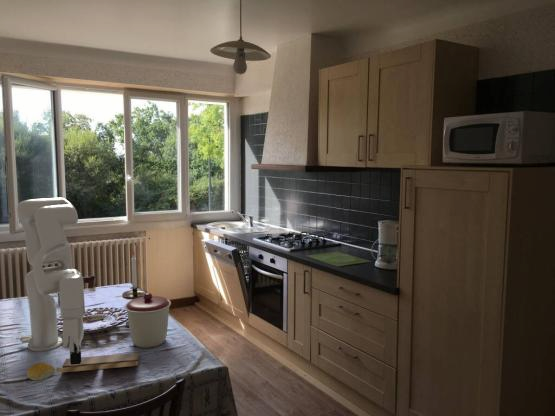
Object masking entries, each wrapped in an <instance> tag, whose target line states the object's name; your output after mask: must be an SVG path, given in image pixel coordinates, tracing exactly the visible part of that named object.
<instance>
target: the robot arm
mask: <svg viewBox="0 0 555 416" xmlns="http://www.w3.org/2000/svg"><path fill="white" fill-rule="evenodd" d="M16 207H17V208H16V212H17V217H18V219H19V223H20V225H21V226H22V228H23V231H24V236H25V237H24V238H25V248H26V257H27V262H28V263H29V265H31V266H32V270H30V271H29V272H27V273H26V275H25V276H24V285H25V287H26V292H27V297H28V308H29V320H30V321H29V322H30V334H29V335H28V336H26V335H24V336H23V335H22V336H20V342H21V344H27V349H28V350H29V351H32V352H45V351H46V352H47V351H51V350H54V349H57V348H58V347H60V346H61V345H62V348H63V349H67V347H68V346H69V347H68V348H69V358H70V364H71V365H74V364H80V363H81V357H82V349H81V348H82V347H81V346H82V345H81V343H82V341H83V338H84V333H85V332H84V320H83V319H84V318H83V317H84V316H85V315H86V304H85V292H84V291H85V288H84V277H83V276H82V273H81V272H80V271H79V270H78V269H76V268H74V267H73V256H72V247H71V245H70V242H69V241H68V238H67V236H66V232H65V229H64V228H70V227H75V226H76V225H78V221H79V216H78V212H77V210H76V207H75V206H74V205H73V204H72V203H71V202H70V201H69V200H67V199H66V198H64V197H49V198H46V197H45V198H32V199H26V200H22V201H20V202H19V203H18V204H17V206H16ZM53 264H58V265H56V266H49V265H53ZM47 265H48V266H49V267H43V266H47ZM58 293H59V296H60V303H59V307H60V308H59V310H60V318H61V319H62V337H60V336H59V334H58V333H59V331H58V330H59V329H58V314H57V302H56V300H55V298H54V297H53V296H52V295H56V294H58Z"/></svg>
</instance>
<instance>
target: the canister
mask: <svg viewBox="0 0 555 416" xmlns="http://www.w3.org/2000/svg"><path fill="white" fill-rule="evenodd" d="M171 305H172V302H171V300H170V299H167V298H166V297H164V296H159V295H153V294H152V293H151V292H148V293H145V294H144V296H143V297H139V298H136V299H133V300H129V302H127V303H125V305H124V309H125V310H126V315H127V319H128V320H127V321H128V322H129V327H128V328H129V332H130V339H131V341H132V343H133V344H134V345H135V346H136V347H138V348H142V349H145V348H147V349H149V348H155V347H158V346H159V345H162V344H163V343H164V342H165V341H166V338H167V335H168V327H169V326H168V325H169V314H170V312H169V311H170V306H171Z"/></svg>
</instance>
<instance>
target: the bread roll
mask: <svg viewBox="0 0 555 416" xmlns="http://www.w3.org/2000/svg"><path fill="white" fill-rule="evenodd" d="M54 373H55V367H54V365H53V366H52V365H50V364H48V363H46V362H37V363H34V364H33V365H31V366H30V367H29V368H28V369H27V371H26V378H27V379H28V380H31V381H43V380H45V379H48V378H50V377H52V376H53V375H54Z"/></svg>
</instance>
